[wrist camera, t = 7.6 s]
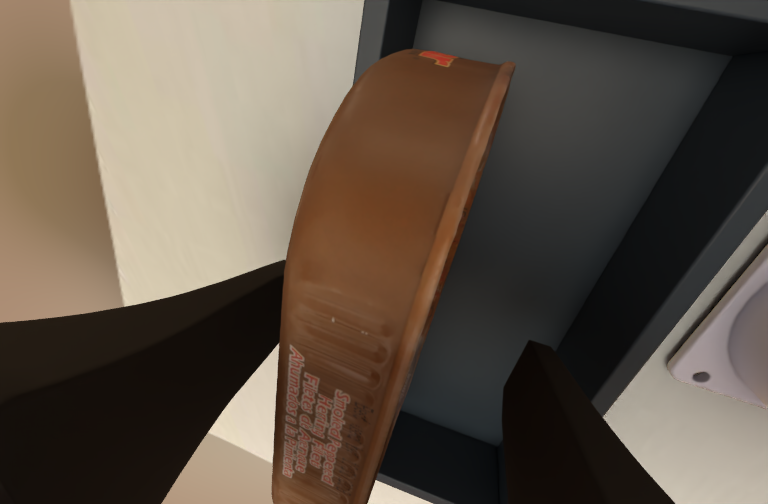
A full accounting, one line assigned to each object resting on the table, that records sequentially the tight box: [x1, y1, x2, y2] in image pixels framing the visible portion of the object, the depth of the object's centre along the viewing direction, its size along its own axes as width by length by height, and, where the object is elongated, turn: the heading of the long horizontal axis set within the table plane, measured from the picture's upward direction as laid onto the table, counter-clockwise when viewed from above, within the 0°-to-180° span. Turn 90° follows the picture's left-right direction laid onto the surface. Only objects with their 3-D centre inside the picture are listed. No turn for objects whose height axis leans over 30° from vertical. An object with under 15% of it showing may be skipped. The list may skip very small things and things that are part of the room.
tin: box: [272, 49, 516, 504], centre depth 10 cm, size 15×3×8 cm, turn 168°
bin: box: [353, 0, 768, 504], centre depth 12 cm, size 10×19×4 cm, turn 168°
